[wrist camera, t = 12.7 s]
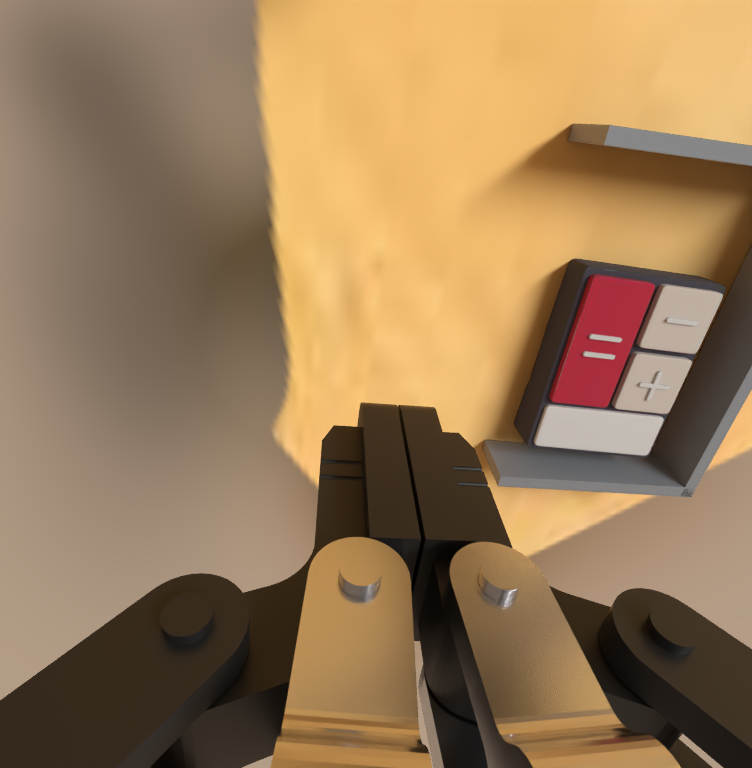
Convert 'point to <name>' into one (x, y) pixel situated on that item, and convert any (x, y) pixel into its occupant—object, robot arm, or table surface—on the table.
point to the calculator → (614, 357)
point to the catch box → (699, 394)
